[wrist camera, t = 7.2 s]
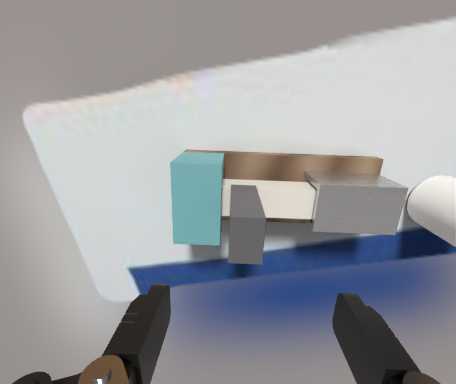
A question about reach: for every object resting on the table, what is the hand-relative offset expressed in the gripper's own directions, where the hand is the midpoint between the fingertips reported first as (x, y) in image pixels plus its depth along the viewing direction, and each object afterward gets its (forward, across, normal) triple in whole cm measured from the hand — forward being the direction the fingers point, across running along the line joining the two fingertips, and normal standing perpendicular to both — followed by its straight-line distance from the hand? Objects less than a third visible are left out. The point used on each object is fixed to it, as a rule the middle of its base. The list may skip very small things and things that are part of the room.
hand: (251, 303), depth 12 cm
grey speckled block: (+18, -11, 0) cm, 21 cm away
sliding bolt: (+16, -2, 0) cm, 16 cm away
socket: (+17, +4, 0) cm, 18 cm away
